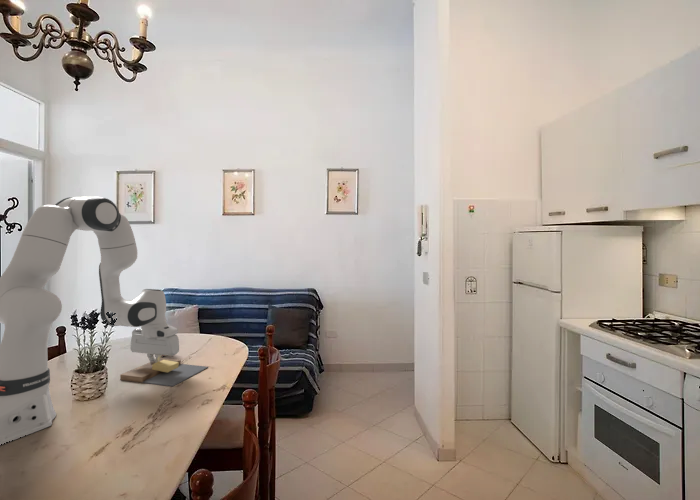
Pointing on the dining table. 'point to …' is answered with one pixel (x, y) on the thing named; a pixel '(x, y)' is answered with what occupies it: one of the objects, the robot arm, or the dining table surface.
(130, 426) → the dining table surface
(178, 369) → the mat
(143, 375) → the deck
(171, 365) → the pale yellow flat block
